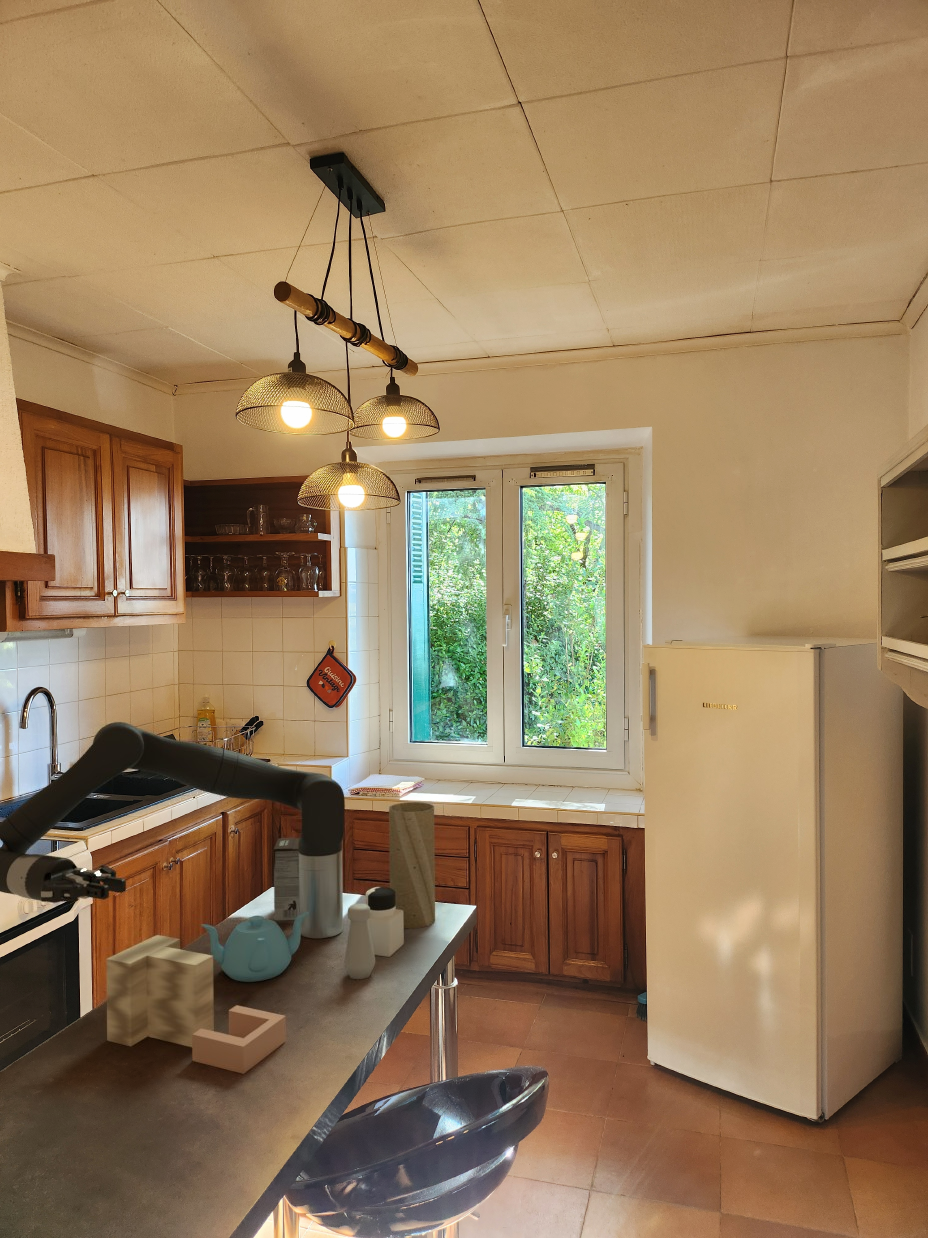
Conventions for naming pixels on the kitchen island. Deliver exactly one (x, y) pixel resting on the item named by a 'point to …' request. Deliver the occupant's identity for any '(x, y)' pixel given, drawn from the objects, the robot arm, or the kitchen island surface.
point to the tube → (413, 861)
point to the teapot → (255, 949)
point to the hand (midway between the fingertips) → (115, 889)
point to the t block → (159, 993)
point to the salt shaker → (359, 943)
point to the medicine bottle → (384, 921)
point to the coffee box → (286, 879)
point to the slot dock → (240, 1040)
